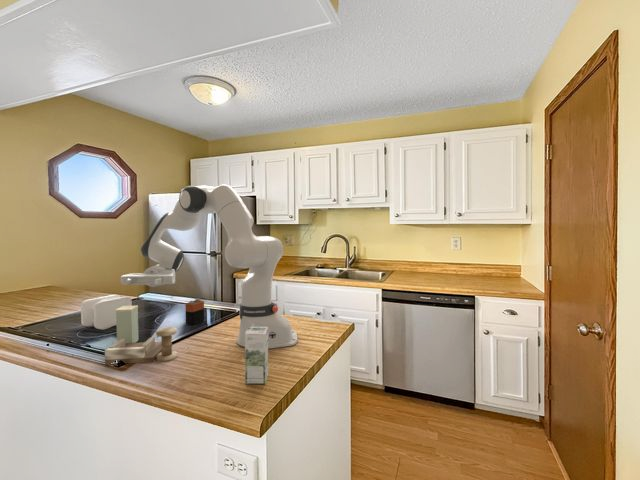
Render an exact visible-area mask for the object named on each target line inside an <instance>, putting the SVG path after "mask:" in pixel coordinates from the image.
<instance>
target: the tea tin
mask: <svg viewBox="0 0 640 480" xmlns="http://www.w3.org/2000/svg"><path fill="white" fill-rule="evenodd" d="M138 310H139V305H132V306H122V307H120V308H118V309H116V325H115V326H116V342H117V341H118V340H119V339H124V338H125V343H138V341H139V311H138Z"/></svg>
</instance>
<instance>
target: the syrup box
mask: <svg viewBox="0 0 640 480" xmlns="http://www.w3.org/2000/svg"><path fill="white" fill-rule="evenodd" d="M268 375H269V349H268V327H248V329H247V330H246V333H245V347H244V378H245V382H244V385H266V383H267V379H268Z"/></svg>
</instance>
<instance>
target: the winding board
mask: <svg viewBox="0 0 640 480" xmlns="http://www.w3.org/2000/svg"><path fill="white" fill-rule="evenodd" d="M161 352H162V344H161V341H156V337H153V336H151V337H149V338H148V339H147V340H145V341H144V342H143V341H142V342H136V343H125V338H124V339H119V340H118V341H117V340H116V341H115V342H114V343H113V344H111V345H110V346H109V347H108V348H106V349H105V350H104V363H105V366H106V365H112V364H111V363H113V362H115V361H116V360H122V361H123V362H124V363H125V364H139V363H140V364H141V363H142V364H143V363H154V362H155V361H157V354H159V353H161Z"/></svg>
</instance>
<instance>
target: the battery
mask: <svg viewBox="0 0 640 480" xmlns="http://www.w3.org/2000/svg"><path fill="white" fill-rule="evenodd" d="M204 321H205V301H204V300H201V298H195V299H194V300H190V301H188V302H186V303H185V324H187V325H190V326H193V325H198V324H199V323H201V322H202V323H203V322H204Z"/></svg>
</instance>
